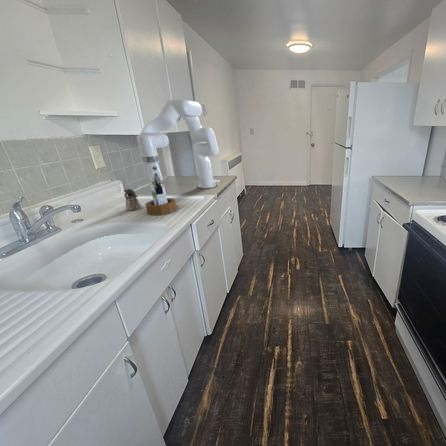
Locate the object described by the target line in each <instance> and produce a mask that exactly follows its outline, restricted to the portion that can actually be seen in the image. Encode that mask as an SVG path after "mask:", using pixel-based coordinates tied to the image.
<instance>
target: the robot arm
mask: <svg viewBox="0 0 446 446" xmlns="http://www.w3.org/2000/svg"><path fill="white" fill-rule="evenodd" d="M202 114H203V109H202V106H201V104H200V103H199V102H197V101H193V100H189V99H169V100H167V101H166V102H165V104H164V105H163V107H162V108H161V111H160V112H159V114H158V116H157V117H155V118H154V119H153V120H151V121H149V122H148V123H147V124H146V125H145V126H143V128H142V130H141V132H140V133H139V134H138V135H137V136H136V141H137V145H138V149H139V153H140V155H141V160H142V161H141V162H142V164H145V166H146V170H147V171H146V172H147V175H148V178H149V180H150V181H151V184H155V190H156V194H157V195H159V194H163V190H162V186H161V184H162V182H163V180H164V179H163V175H162V171H161V168H160V165H159V163H160V159H159V154H158V151H157V150H158V149H162V148H163V149H164V148H166V147H167V146H168V145H169V143H170V140H169V137H168V135H166V134H165V133H162V132H165V131H169V130H171V129H172V128H173V127H174V126H175V124H176V122H177V120H178V118H179V117H180V118H181V119H183V120H184V122H185V124H186V126H187V130H188V132H189V135H190V138H191V140H192V141H193V142H195V143H194V144H193V146H192V151H193V154H194V157H195V161H196V167H197V172H198V173H197V174H198V179H199V184H198V188H199V189H211V188H215V187H216V186H217V183H221V181H220V179H214V176H213V169H212V162H211V160H210V159H209V158H210V157H211V158H212V157H213V158H214V157H217V156H218V155H219V153H220V150H219V149H220V148H219V145H218V141H217V137H216V133H215V131H214V130H213V128H211V127H209V126H202V123H201V121H200V118H199V117H200V116H201V115H202Z"/></svg>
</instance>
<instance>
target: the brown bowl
mask: <svg viewBox="0 0 446 446" xmlns="http://www.w3.org/2000/svg"><path fill="white" fill-rule="evenodd" d="M167 201H168V203H167V204H163V205H154V200H153V199H152V200H148V201H147V202H146V203H145V204H144V205H145V208H146V211H147V214H148V215H150V216H164V215H168V214H171V213H173V212H176V211H177V210H178V206H177V202H176V199H175V198H171V197H167Z"/></svg>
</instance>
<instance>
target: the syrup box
mask: <svg viewBox="0 0 446 446" xmlns="http://www.w3.org/2000/svg"><path fill="white" fill-rule="evenodd" d="M149 186H150V191H151V196H152V200H154V205H163V204H167V203H168V201H167V198H168V197H167V193H166V189H165V184H163V183H161V186H162V190H163V194H159V195H157V194H156V190H155V184H152V183H150V184H149Z"/></svg>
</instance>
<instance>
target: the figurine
mask: <svg viewBox="0 0 446 446" xmlns="http://www.w3.org/2000/svg"><path fill="white" fill-rule="evenodd" d="M123 192H124V198H125V207H126V210H127V211H129V212H134V211H139V210H141V208H142V205H141V204H140V202H139V199H138V195H137V194H136V192H135V190H133V189H132V188H127V189H123Z"/></svg>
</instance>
